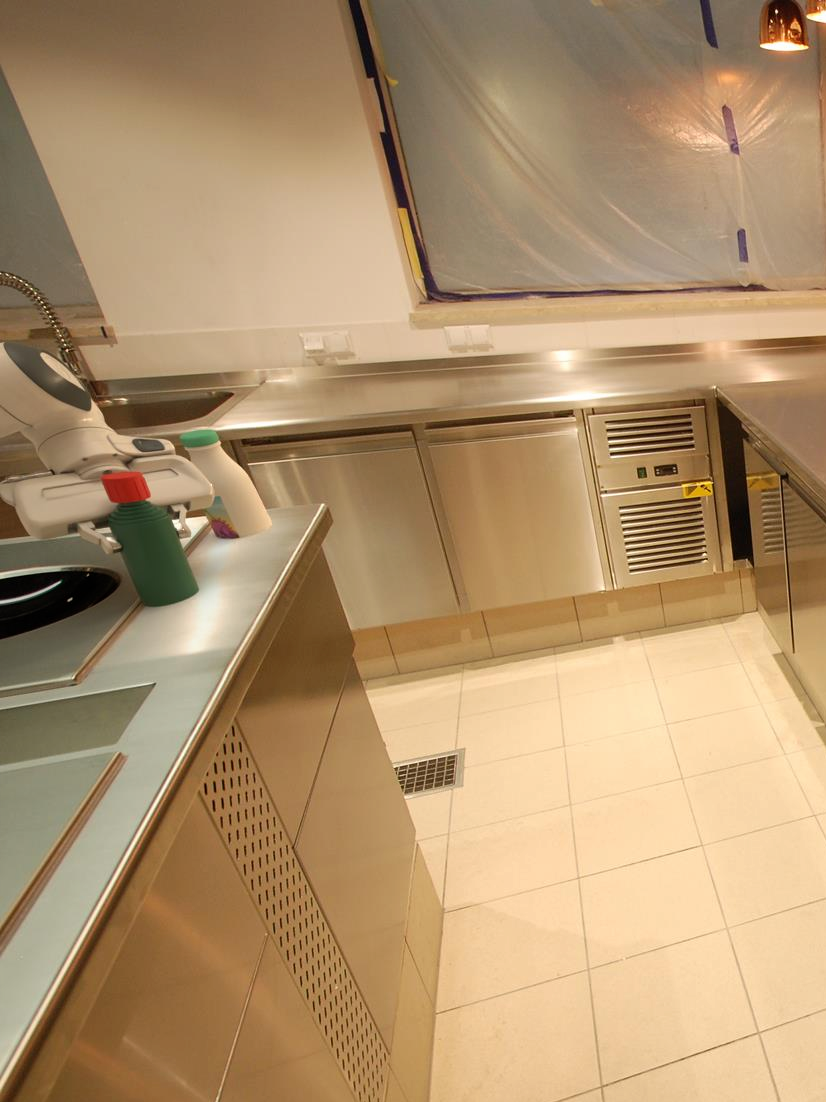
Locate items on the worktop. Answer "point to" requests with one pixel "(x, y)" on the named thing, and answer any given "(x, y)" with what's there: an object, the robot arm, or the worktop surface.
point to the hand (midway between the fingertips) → (151, 543)
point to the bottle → (152, 553)
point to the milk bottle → (226, 488)
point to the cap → (125, 487)
